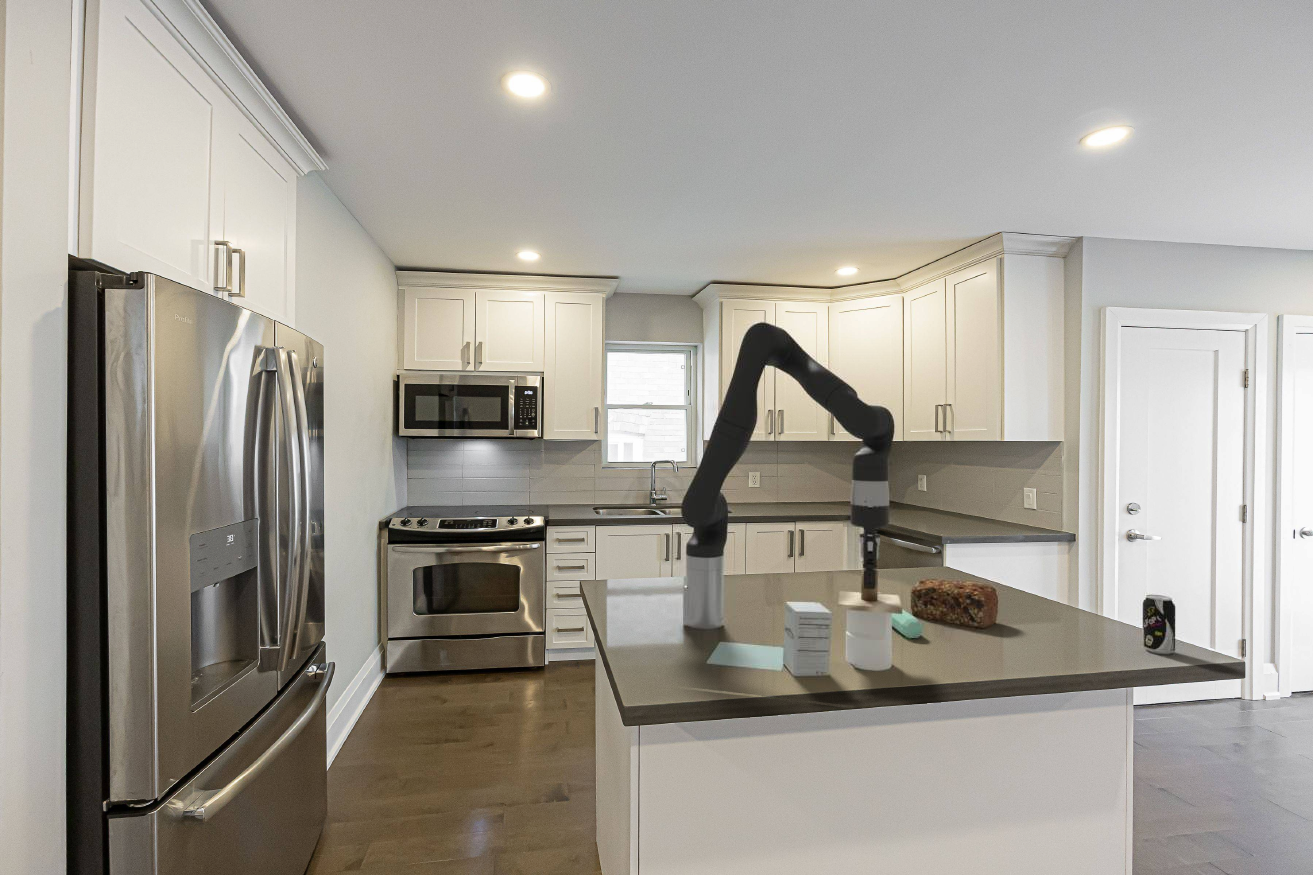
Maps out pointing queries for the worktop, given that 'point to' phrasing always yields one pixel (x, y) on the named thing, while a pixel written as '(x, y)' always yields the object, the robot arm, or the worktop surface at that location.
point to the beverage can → (1158, 624)
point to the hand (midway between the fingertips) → (869, 585)
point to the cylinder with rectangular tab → (869, 639)
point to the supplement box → (807, 638)
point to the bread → (955, 602)
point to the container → (906, 624)
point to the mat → (748, 656)
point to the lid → (869, 599)
